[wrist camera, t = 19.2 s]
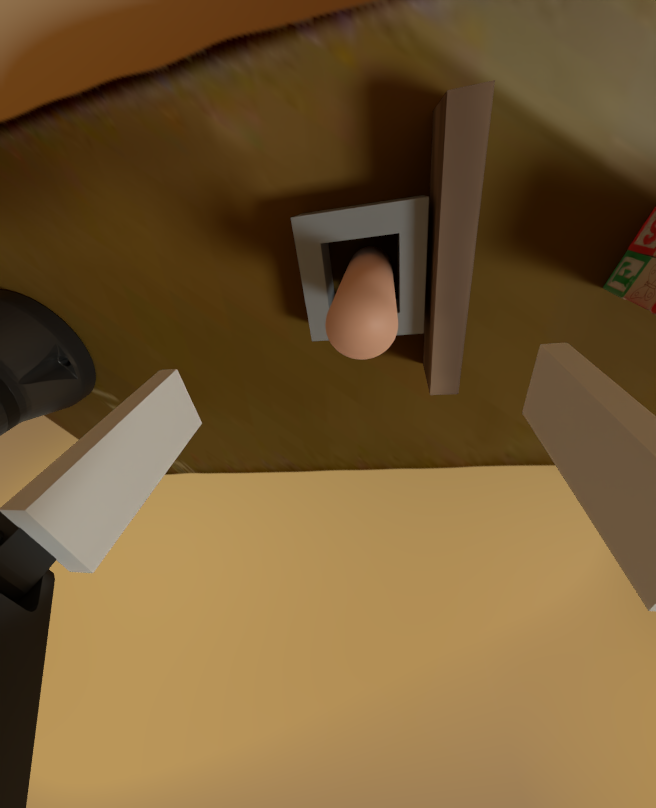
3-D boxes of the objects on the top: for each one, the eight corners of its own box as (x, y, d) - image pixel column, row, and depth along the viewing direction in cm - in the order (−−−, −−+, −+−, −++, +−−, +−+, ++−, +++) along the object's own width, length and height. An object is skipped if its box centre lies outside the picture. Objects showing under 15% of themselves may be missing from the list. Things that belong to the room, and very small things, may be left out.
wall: (423, 364, 33) (430, 394, 28) (433, 111, 22) (447, 90, 17) (446, 362, 33) (458, 394, 28) (469, 103, 21) (494, 80, 17)
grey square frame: (319, 325, 32) (312, 341, 29) (301, 213, 27) (290, 217, 23) (419, 317, 30) (423, 333, 27) (422, 195, 25) (428, 196, 22)
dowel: (339, 271, 29) (310, 327, 18) (370, 235, 27) (361, 272, 16) (369, 301, 30) (361, 371, 19) (401, 269, 28) (413, 326, 17)
